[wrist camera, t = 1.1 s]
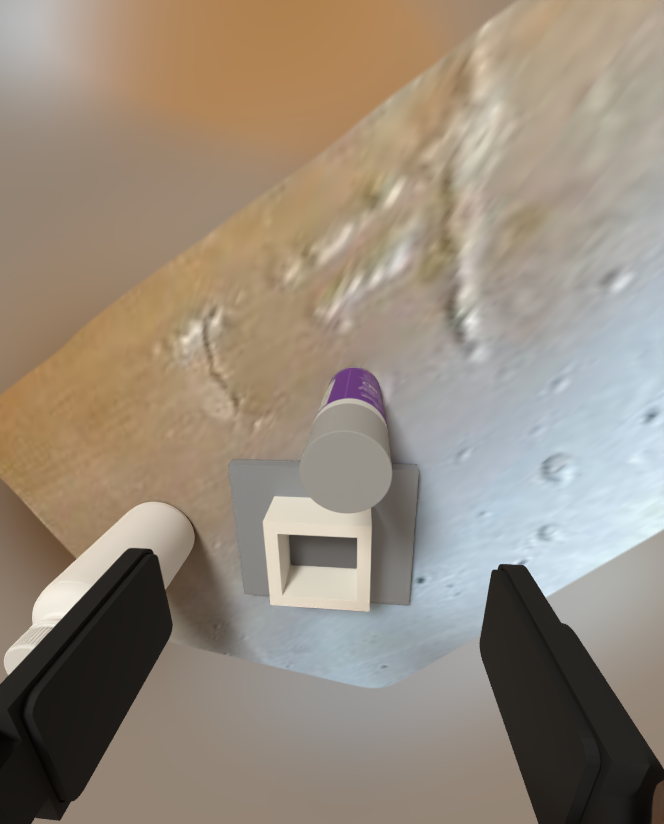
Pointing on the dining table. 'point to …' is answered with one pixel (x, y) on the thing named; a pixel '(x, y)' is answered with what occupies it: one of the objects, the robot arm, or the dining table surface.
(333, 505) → the container
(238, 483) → the square socket holder
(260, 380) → the dining table surface
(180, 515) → the pill bottle
